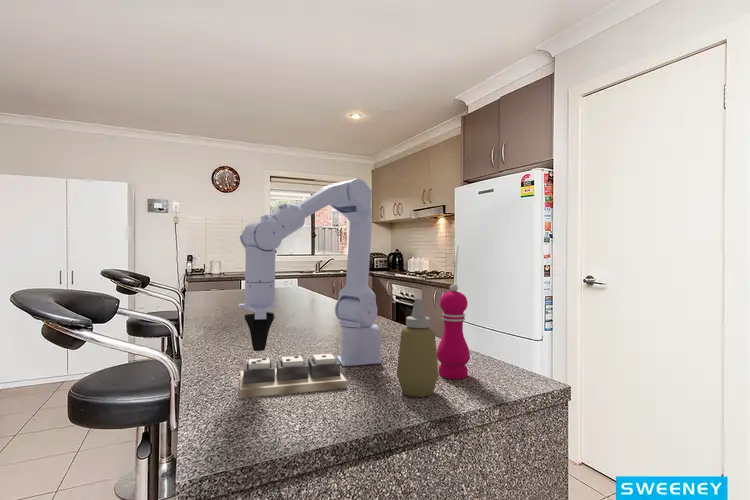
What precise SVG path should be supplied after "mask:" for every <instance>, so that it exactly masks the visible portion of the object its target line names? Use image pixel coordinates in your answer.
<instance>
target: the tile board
mask: <svg viewBox="0 0 750 500" xmlns="http://www.w3.org/2000/svg"><path fill="white" fill-rule="evenodd" d="M334 357H335V363H332V364H319V365H314V363H313V357H309V358H307V360H306V359H305V358H302V359H303V366H292V367H281V364H282V359H280V360H276V367H275V361H274V360H270V368H265V369H252V370H249V361H248V362H243V370H240V381H239V396H238V397H239V399H245V398H246V399H248V398H255V397H256V398H257V397H258V398H259V397H266V396H275V395H276V396H277V395H289V394H298V392H300V393H308V392H309V391H310V392H317V391H318V392H320V391H330V390H340V389H347V388H348V387H347V385H348V383H347V382H348V381H347V379H346V377H345V376H344V374H342V372H341V365H342V364H341V363H340V362H339V360H338V359H337V356H334ZM288 393H289V394H288Z"/></svg>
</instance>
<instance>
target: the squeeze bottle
mask: <svg viewBox="0 0 750 500" xmlns="http://www.w3.org/2000/svg"><path fill="white" fill-rule="evenodd" d="M423 306H424V305H423V301H422V298H420V297H419V298H417V297H416V298H415V299H414V303H413V307H412V312H411V316H409V315H408V316H406V318H405V326H406V327H404V328H402V329H401V332H400V341H399V351H398V358H397V360H398V361H397V368H396V376H397V379H398V382H399V385H400V390H401V392H402V393H403V394H405V396H410V397H415V398H416V397H417V398H423V397H424V398H425V397H428V396H431V395H432V394H433V393H434V390H435V388H436V386H437V385H436V384H437V382H438V378H439V376H440V375H439V365H438V364H439V363H438V359H437V343H436V341H437V340H436V332H435V330H434V329H432V328H430V327H431V317H429V316H426V315H425V310H424V307H423Z"/></svg>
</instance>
